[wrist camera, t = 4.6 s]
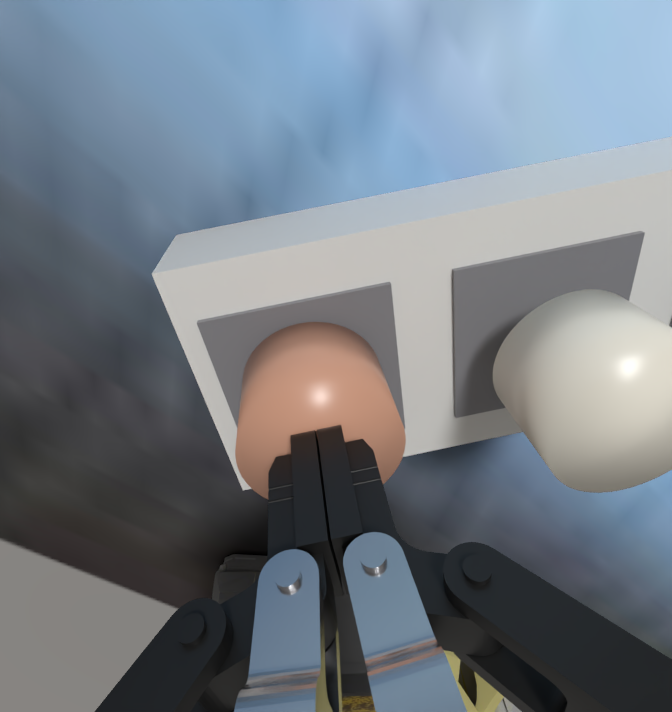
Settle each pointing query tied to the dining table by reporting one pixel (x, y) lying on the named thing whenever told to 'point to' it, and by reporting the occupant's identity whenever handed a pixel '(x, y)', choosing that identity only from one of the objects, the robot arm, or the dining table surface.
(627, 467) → the cream button
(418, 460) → the dining table surface
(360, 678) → the circular saw
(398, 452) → the terracotta button
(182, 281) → the console
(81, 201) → the dining table surface
